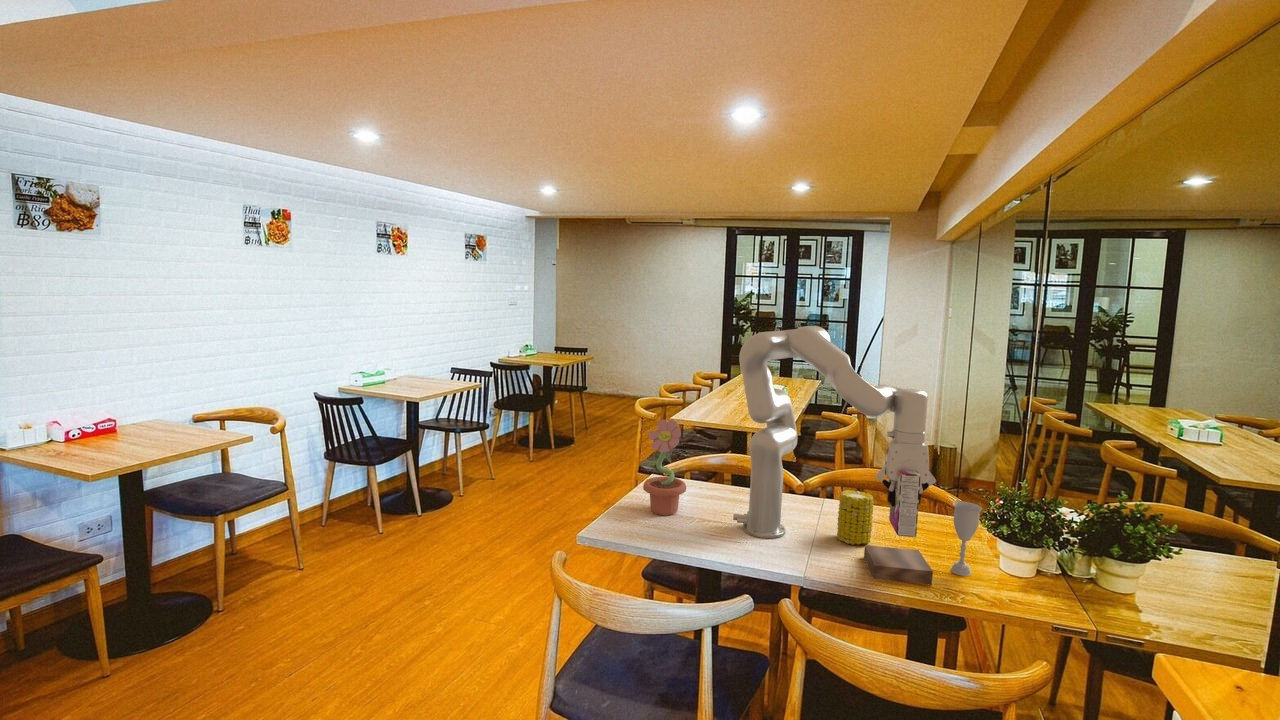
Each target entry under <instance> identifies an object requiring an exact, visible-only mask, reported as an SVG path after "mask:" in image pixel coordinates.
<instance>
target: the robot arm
mask: <svg viewBox="0 0 1280 720" xmlns="http://www.w3.org/2000/svg"><path fill="white" fill-rule="evenodd" d="M830 336H831V335H830V334H829V332H828V331H827V330H826V329H825V328H823V327H822V326H818V325H807V326H800V327H798V328H795V329H785V330H774V331H761V332H758V333H755V334H753V335H752V336H750V337H749V338H747V340H746V341H745V342H744V343H743V344H742V346H741V348H740V351H739V356H738V357H739V358H738V359H739V361H738V362H739V365H740V371H741V375H742V380H743V386H744V387H743V388H744V392H745V399H746V405H747V411H748V414H749V416H750V417H749V418H750V419H751V420H752V421H754V422H755V423H757V424H766V427H763V428H761V429H759V430H757V431H756V432H755V433H754V434H753V435H752V436H751V439H750V441H749V454H750V455H749V456H750V484H749V485H750V487H749V499H748V500H749V501H748V511H746V512H747V513H744V514H739V513H733V517H732V518H733V519H732V520H733V521H736V523H738V524H742V530H743V532H744V533H746V534H748V535H750V536H753V537H757V538H762V539H777V538H780V537H782V536H784V535H785V534H786V528H785V527H784V525H782V524H781V520H782V519H781V518H782V501H783V488H784V486H783V485H784V467H783V461H782V457H783V456H785V455H787V454H789V453H792V452H793V451H794V450H795V448H796V447H797V445H798V430H797V429H798V428H797V424H796V419H795V414H794V413H795V412H794V407H793V404H792V401H791V398H790V396H789V395H788V394H787V393H786V392H785V391H784V390H782V389H779V388H775V386H774V382H773V375H772V372H771V371H770V367H769V366H768V362H769V361H776V360H781V359H783V360H784V359H789V358H798V357H799V358H800V359H801V360H803V361H804V362H806V364H808V365H810V366H811V367H812V368H813V369H814V370H816V371H817V372H818V373H819V374H820V375H822V376H823V377H824V378H825V379H826V380H828V382H829V384H830V386H831V387H832V388H833V389H834V390H835V391H836V393H837V394H838V395H839V396H840V397H841V398H842V399H843V400H844V401H845V402H847V403H848V404H849V405H850V406H852V407H853V408H854V409H856V410H857V411H858V412H860V413H861V414H863V415H865V416H867V417H871V418H876V417H877V418H878V417H880V416H882V415H885V414H890V413H893V428H892V430H891V431H886V437H887V438H891V439H890V440H889V443H888V445H887V450H886V453H885V454H886V455H885V460H884V465H883V466H882V467H881V468H880V469H879V471H878V472H877V473H876V474H875V477H876V479H877V480H878V481H880V483H882V484H883V485H884V486H885V487H886V488H887V502H888V503H889V506H890V505H891V506H892V507H894V506H895V496H896V492H895V489H894V488H895V486H896V482H898V473H899V471H913V472H918V473H919V474H920V475H921V476H920V489H919V505H921V501H922V494H924V491H926V490H927V489H928V488H929V487H930V486H932V485H934V484H935V483H937V480H936V478H935V476H934V475H933V473H931V471H930V455H929V452H930V451H929V446H928V444H927V443H925V438H926V437H925V436H926V426H927V425H926V423H927V411H928V410H927V409H928V394H927V392H925V391H924V390H921V389H916V388H915V389H914V388H900V387H897V386H894V385H890V384H879V385H875V386H874V385H872V384H870V382H868V381H866V380H865V379H864V378H863V377H862V376H860V375H859V374H858V373H857V372H856V371H855V369H854V368H853V366H852V364H851V359H850V358H851V357H850V355H849V354H847V353H846V352H845V351H844V350H842V349H841V348H839V347H838V346H837V345H836V344H834V343H833V342H831V337H830ZM884 475H885V477H886V478H887V479H886V478H885V477H884ZM919 505H918V506H919Z"/></svg>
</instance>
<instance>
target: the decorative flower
mask: <svg viewBox="0 0 1280 720" xmlns="http://www.w3.org/2000/svg"><path fill="white" fill-rule="evenodd" d="M656 426H657V427H658V428H657V430H650V431H649V434H648V439H649V440H650V441H653V442H651V444H650V447H651V448H652V450H654V451H658V453H659V456H658V457H657V460H651V461H650V462H648V464H647V466H651V467H652V466H655V467H656V469H657V471H659V472H661V473H662V474H665V475H668V476H655V477H651V478H647V479H646V480H645V481H644V483H643V485H642V489H643V491H644V492H646V493H648V494H649V500H650V501H649V503H650V504H649V505H650V510H651V512H652V513H653V514H655V515H658V516H659V515H660V516H671V515H674V514H676V513H677V512H678V509H679V505H680V504H679V502H680V501H679V500H680V495H683V494H684V493H685V492H687V484H686V482H684V481H683V480H682V479H679V478H677V477H675V473H678V472H680V471H681V470H682V468H677V469H675V470H671V469H670V468H667V467H664V466H662V464H663V462H664V459H665V458H666V459H667V461H668V462H669V463H670V464H672V459H671V456H670V454H669V453H668V452H669V451H671V450H673V449H675V448H676V447H677V446H678V445H679V443H680V438H681V435H682V433H681V431H682V430H681V427H679V425H678V422H677V421H676V420H674V419H668V421H667V419H661V420H659V421H658V422H656Z"/></svg>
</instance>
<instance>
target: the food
mask: <svg viewBox="0 0 1280 720" xmlns="http://www.w3.org/2000/svg"><path fill="white" fill-rule="evenodd" d="M839 495H840V496H839V504H838V511H837V513H838V515H837V525H836V526H837V528H836V529H837V531H836V532H837V533H836V536H837V539H838V540H840V541H841V542H844V543H845V544H846V543H847V544H846V545H849V544H851V545H852V546H854V545H861V544H866V545H867V544H868V545H869V543H870V542H871V538H872V537H871V535H872V531H873V529H872V527H873V524H872V523H873V518H874V517H873V514H874V513H873V511H874V503H875V501H874V496H873V495H872V494H870V493H868V492H867V493H865V491H859V490H850V489H844V490H843V491H841V492H840V494H839Z"/></svg>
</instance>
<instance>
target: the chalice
mask: <svg viewBox="0 0 1280 720" xmlns="http://www.w3.org/2000/svg"><path fill="white" fill-rule="evenodd" d="M952 505H953V507H954V512H953V513H954V514H953V526H954V529H955V532H956V535H957V538H958V539H959V540H960V541H961V545H960V546H959V547H960V552H959V553H958V555H959V557H960V559H959V560H957V561H955V562H954V563H953V565H952V566H951V568H950V572H952V573H953V574H955V575H957V576H962V577H970V576H971V575H972V572H971V569H970V565H969V564H968V563H966V561H965V557H966V556H967V554H966V550H967V545H966V543H967V542H970V540H971V539H972V538H973V537H974V535H975V533H976V532H977V530H978V528H979V523H980V513H981V512H982V510H983V507H982V506H981V505H978V504H976V503H973V502H969V501H954V502H953V503H952Z"/></svg>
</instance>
